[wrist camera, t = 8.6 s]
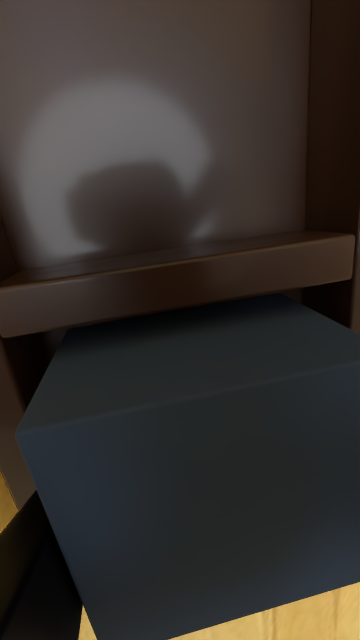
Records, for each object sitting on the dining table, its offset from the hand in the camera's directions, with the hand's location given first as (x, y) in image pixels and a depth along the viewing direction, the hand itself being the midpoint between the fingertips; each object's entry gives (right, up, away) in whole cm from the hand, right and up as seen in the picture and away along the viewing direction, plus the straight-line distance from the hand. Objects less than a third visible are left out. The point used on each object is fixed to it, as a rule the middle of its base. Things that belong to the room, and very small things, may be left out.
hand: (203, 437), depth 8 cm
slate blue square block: (0, +1, +2) cm, 2 cm away
